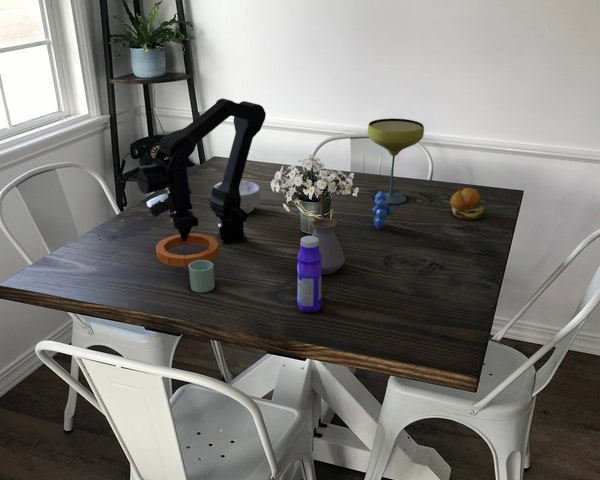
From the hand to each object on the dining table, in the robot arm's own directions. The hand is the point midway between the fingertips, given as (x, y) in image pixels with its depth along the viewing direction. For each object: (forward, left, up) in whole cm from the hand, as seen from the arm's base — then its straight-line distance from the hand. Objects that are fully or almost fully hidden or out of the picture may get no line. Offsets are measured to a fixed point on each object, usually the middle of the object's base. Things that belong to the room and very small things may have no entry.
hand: (183, 239), depth 171 cm
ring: (0, +7, -1) cm, 7 cm away
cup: (-1, +21, -4) cm, 21 cm away
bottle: (-23, +39, -5) cm, 45 cm away
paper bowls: (-22, -28, -5) cm, 36 cm away
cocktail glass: (-74, -22, -5) cm, 78 cm away
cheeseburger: (-90, 0, -5) cm, 90 cm away
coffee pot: (-35, +16, -5) cm, 39 cm away
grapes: (-60, +1, -5) cm, 60 cm away
